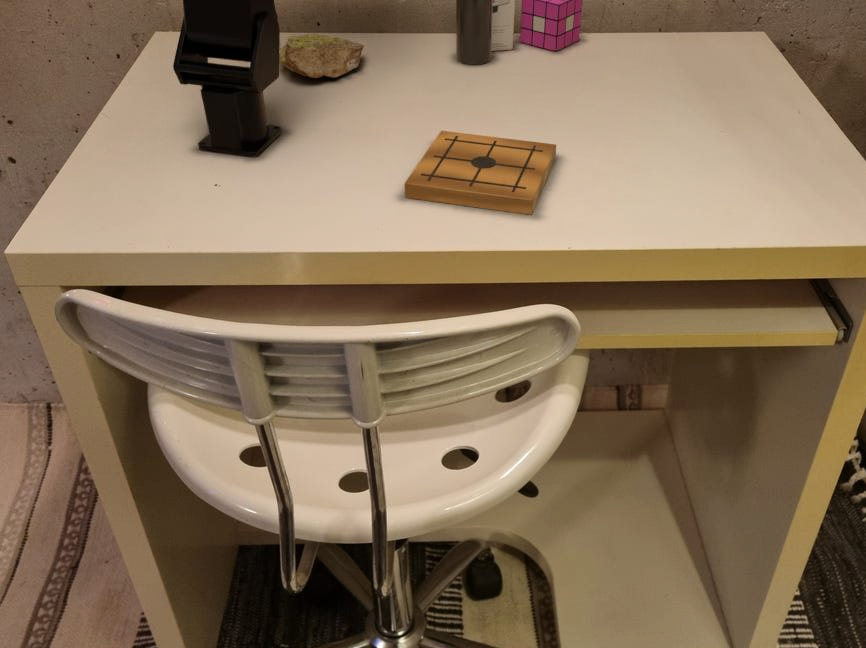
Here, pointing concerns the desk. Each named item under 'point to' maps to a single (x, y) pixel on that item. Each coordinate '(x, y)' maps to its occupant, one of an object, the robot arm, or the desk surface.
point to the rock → (320, 55)
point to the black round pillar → (474, 31)
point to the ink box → (503, 24)
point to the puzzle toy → (550, 23)
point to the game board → (482, 172)
